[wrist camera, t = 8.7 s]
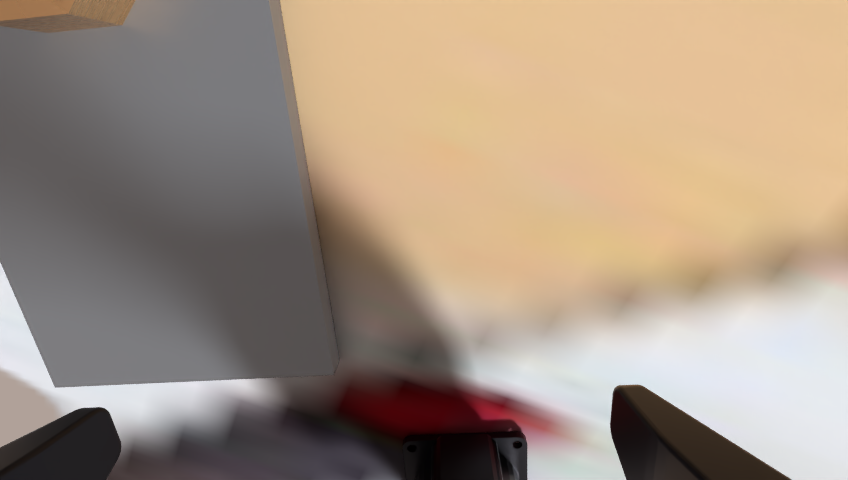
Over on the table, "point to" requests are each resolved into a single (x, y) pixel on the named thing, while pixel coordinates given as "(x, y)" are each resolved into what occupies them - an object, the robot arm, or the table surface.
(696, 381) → the table surface
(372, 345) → the table surface
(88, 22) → the ring
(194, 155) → the base
